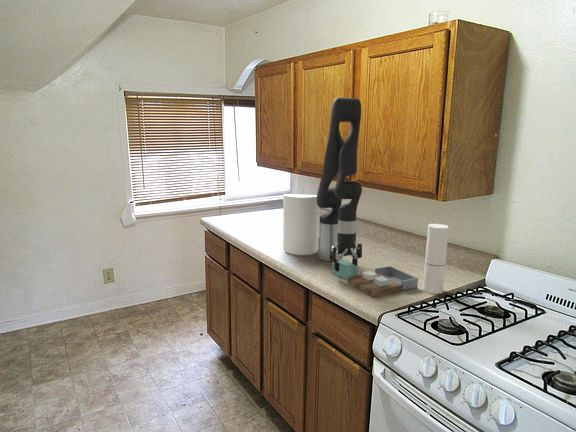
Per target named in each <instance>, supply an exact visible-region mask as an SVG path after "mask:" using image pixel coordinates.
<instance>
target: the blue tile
mask: <svg viewBox="0 0 576 432" xmlns="http://www.w3.org/2000/svg"><path fill="white" fill-rule="evenodd" d="M373 283H374V284H376V285H378V286H385V285H389V280H388V279H386V278H384V277H382V276H381V277H376V278H374V279H373Z"/></svg>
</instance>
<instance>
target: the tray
mask: <svg viewBox="0 0 576 432" xmlns="http://www.w3.org/2000/svg"><path fill="white" fill-rule="evenodd" d="M374 272H375V273H377V274H379V275H381V276H383V277H385V278H387V279H389V280H391V281H394V282H396V283H398V284H400V285H401V292H406V291H410V290H417V289H418V285H419V283H418V282H419V278H418V277H416V276H414V275H412V274H409V273H408V272H405V271H403V270H400V269H399V268H396V267H394V266H392V265H387V266H383V267H376V268H375V269H374Z"/></svg>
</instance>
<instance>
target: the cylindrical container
mask: <svg viewBox="0 0 576 432" xmlns="http://www.w3.org/2000/svg"><path fill="white" fill-rule="evenodd" d="M449 229H450V227H449V225H447V224H441V223H429V224H427V233H426V248H425V259H424V270H423V282H422V283H423V284H422V290H423V291H424V292H426V293H428V294H432V295H433V294H434V295H436V294H437V295H439V294H438V293H440V294H443V291H444V283H445V282H444V281H445V272H446V260H447V251H448V249H447V248H448V240H449V239H448V237H449Z"/></svg>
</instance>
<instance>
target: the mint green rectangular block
mask: <svg viewBox="0 0 576 432" xmlns="http://www.w3.org/2000/svg"><path fill="white" fill-rule="evenodd" d="M331 270H332V274H334V275H335V276H337V277H338V278H339V277H340V278H341V279H344V280H346V281H348V277H350V276H356V275H359V266H358V265H357V266H356V265H353V264H352V262H349V261H346V260H344V259H343V258H342V259H341V260H340V261H339V272H337V271H335V270H334V262H333V261H332V269H331Z"/></svg>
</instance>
